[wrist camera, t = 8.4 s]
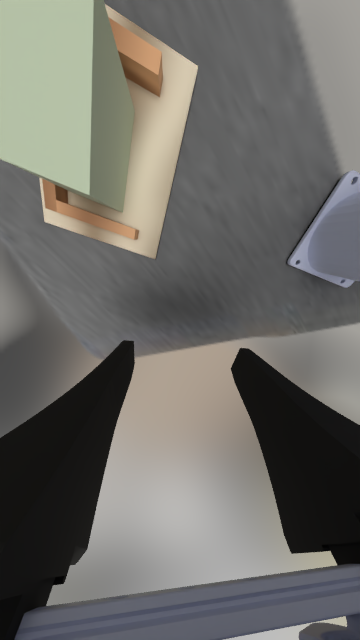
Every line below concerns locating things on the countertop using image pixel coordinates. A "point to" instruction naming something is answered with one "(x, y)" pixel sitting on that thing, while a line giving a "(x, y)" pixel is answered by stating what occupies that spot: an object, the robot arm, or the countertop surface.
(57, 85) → the chute block
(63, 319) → the countertop surface
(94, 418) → the robot arm
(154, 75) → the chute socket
